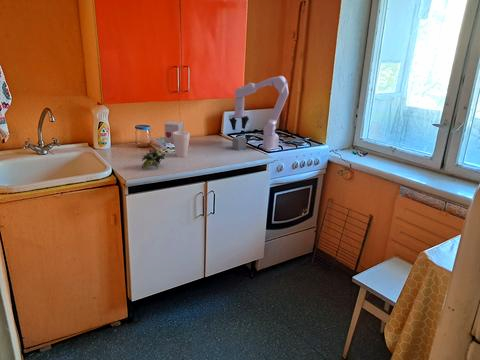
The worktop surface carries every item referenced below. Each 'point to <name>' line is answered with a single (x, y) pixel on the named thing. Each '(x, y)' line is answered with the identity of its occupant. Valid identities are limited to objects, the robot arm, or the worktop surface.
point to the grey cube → (239, 143)
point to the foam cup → (181, 142)
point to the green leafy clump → (153, 158)
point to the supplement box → (172, 130)
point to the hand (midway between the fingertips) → (238, 129)
